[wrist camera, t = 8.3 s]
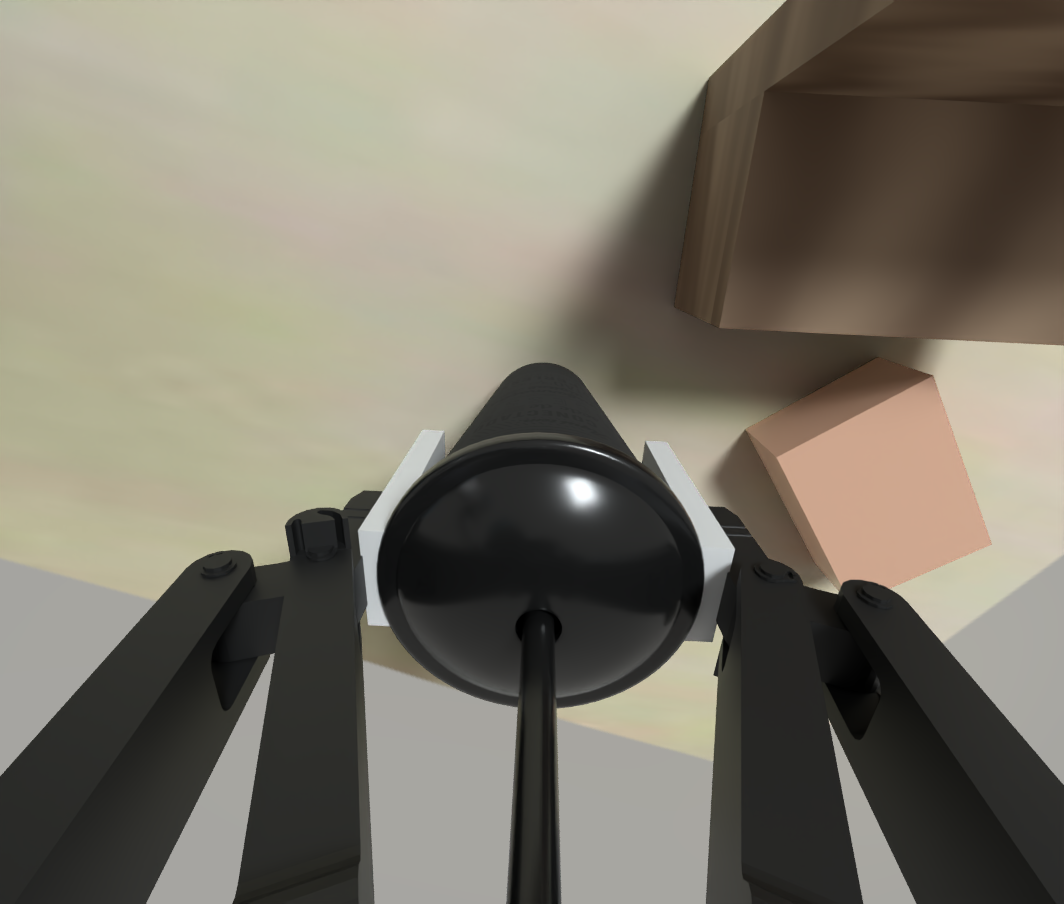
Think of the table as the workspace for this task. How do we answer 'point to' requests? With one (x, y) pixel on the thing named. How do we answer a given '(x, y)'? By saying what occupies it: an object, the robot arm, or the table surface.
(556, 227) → the table surface
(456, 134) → the table surface
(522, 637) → the drinking cup
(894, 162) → the desk shelf
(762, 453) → the pink rectangular block
